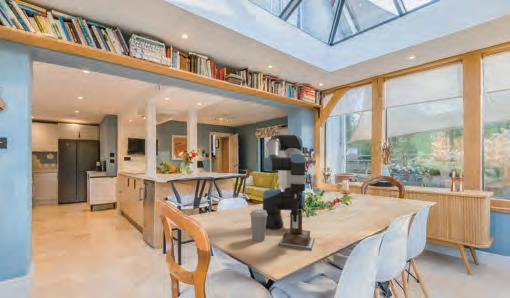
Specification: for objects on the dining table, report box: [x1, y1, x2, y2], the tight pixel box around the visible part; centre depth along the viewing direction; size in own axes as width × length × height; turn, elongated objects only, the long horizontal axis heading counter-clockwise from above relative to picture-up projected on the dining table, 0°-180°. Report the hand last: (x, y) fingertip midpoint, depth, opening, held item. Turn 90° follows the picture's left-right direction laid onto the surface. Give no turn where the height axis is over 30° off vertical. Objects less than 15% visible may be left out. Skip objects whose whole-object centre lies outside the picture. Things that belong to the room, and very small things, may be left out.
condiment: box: [288, 209, 308, 236], centre depth 121 cm, size 7×8×12 cm
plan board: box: [277, 236, 315, 251], centre depth 121 cm, size 16×16×1 cm
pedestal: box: [282, 227, 311, 246], centre depth 121 cm, size 12×12×4 cm
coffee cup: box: [249, 208, 268, 243], centre depth 125 cm, size 10×10×15 cm
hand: (297, 224), depth 121 cm, fingers open, 13 cm apart
